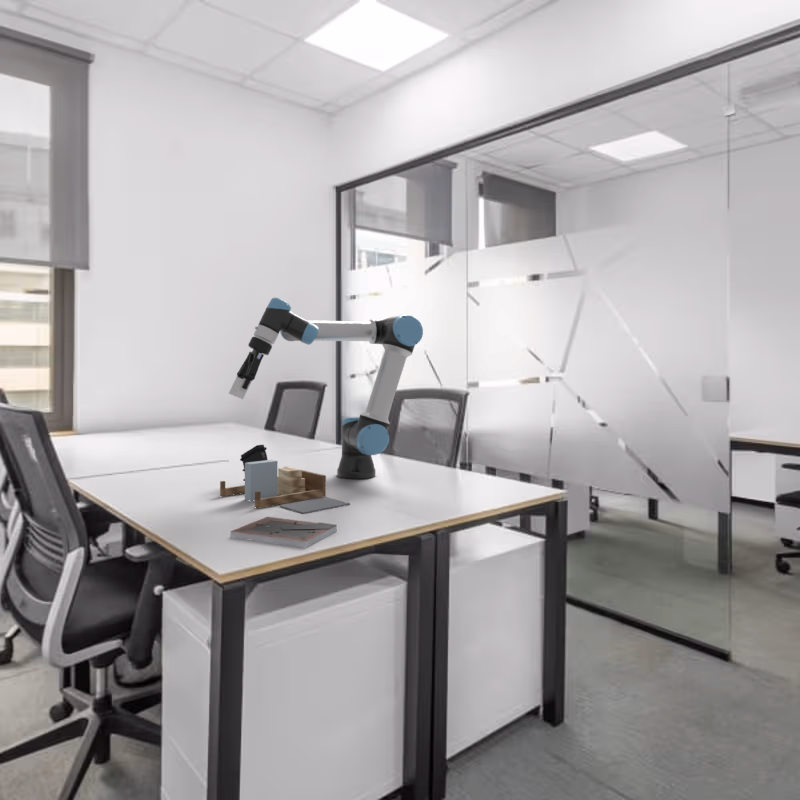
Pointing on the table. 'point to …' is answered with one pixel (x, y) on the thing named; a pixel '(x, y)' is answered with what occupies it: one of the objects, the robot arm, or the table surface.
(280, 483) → the block
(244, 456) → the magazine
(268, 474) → the pale blue chunky brick
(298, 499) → the rack
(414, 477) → the table surface
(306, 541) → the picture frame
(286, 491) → the block
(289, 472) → the offcut top
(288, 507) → the mat
